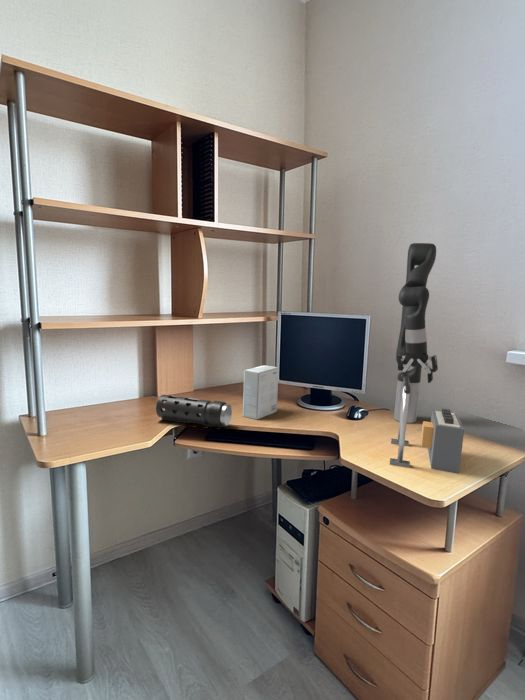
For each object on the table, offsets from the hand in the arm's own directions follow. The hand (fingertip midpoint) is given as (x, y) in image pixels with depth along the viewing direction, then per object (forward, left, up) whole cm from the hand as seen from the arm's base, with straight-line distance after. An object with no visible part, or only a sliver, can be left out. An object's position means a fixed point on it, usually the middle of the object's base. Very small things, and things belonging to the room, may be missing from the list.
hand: (418, 381), depth 164 cm
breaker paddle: (+24, +4, -16) cm, 30 cm away
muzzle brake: (+27, -81, -21) cm, 88 cm away
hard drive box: (+3, -62, -21) cm, 65 cm away
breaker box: (+24, +9, -21) cm, 33 cm away
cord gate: (+24, -5, -21) cm, 32 cm away
